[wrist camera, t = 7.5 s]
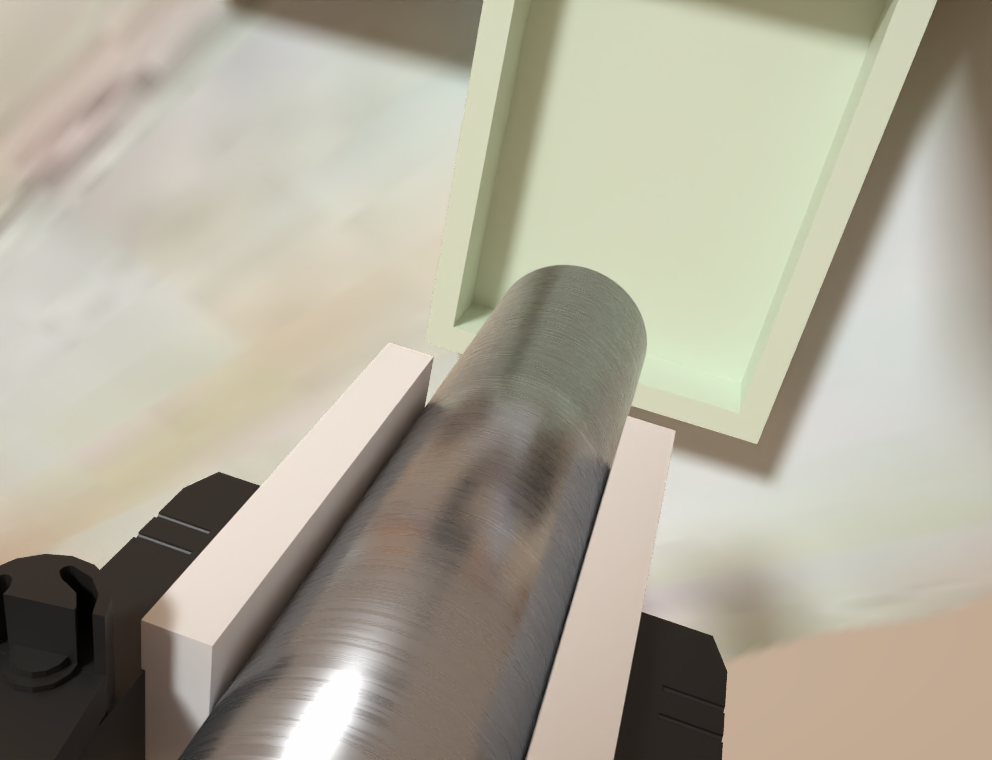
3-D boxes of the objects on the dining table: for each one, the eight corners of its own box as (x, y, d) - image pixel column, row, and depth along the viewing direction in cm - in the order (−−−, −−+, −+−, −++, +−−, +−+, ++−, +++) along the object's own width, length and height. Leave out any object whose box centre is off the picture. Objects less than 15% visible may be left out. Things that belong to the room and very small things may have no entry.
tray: (534, -155, 29) (511, -162, 27) (944, -65, 28) (962, -63, 25) (448, 312, 38) (424, 342, 35) (758, 404, 36) (757, 444, 33)
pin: (486, 209, 18) (-95, 815, 6) (706, 271, 17) (552, 1085, 5) (450, 397, 20) (-32, 1120, 8) (643, 457, 20) (433, 1336, 7)
